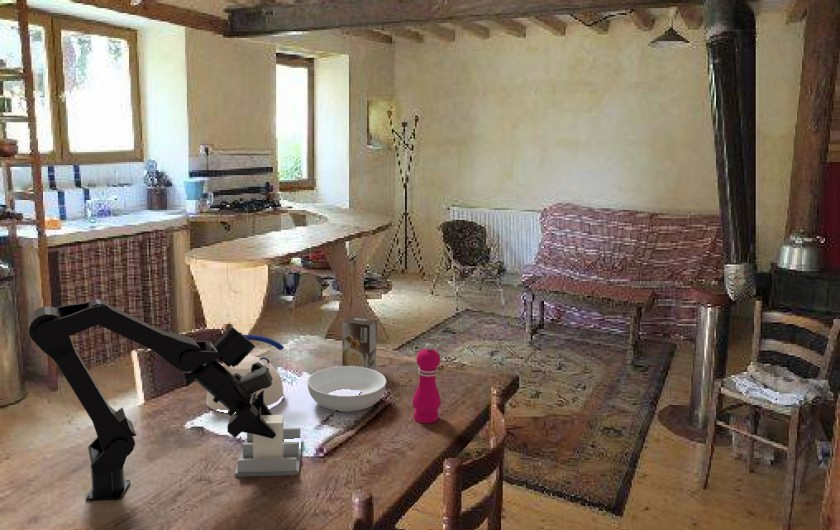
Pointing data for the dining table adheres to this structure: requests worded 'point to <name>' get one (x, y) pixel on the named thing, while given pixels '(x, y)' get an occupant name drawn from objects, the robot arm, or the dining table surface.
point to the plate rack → (270, 465)
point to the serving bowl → (346, 387)
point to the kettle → (243, 368)
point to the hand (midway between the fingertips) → (275, 431)
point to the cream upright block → (270, 439)
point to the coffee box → (359, 342)
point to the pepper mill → (427, 386)
